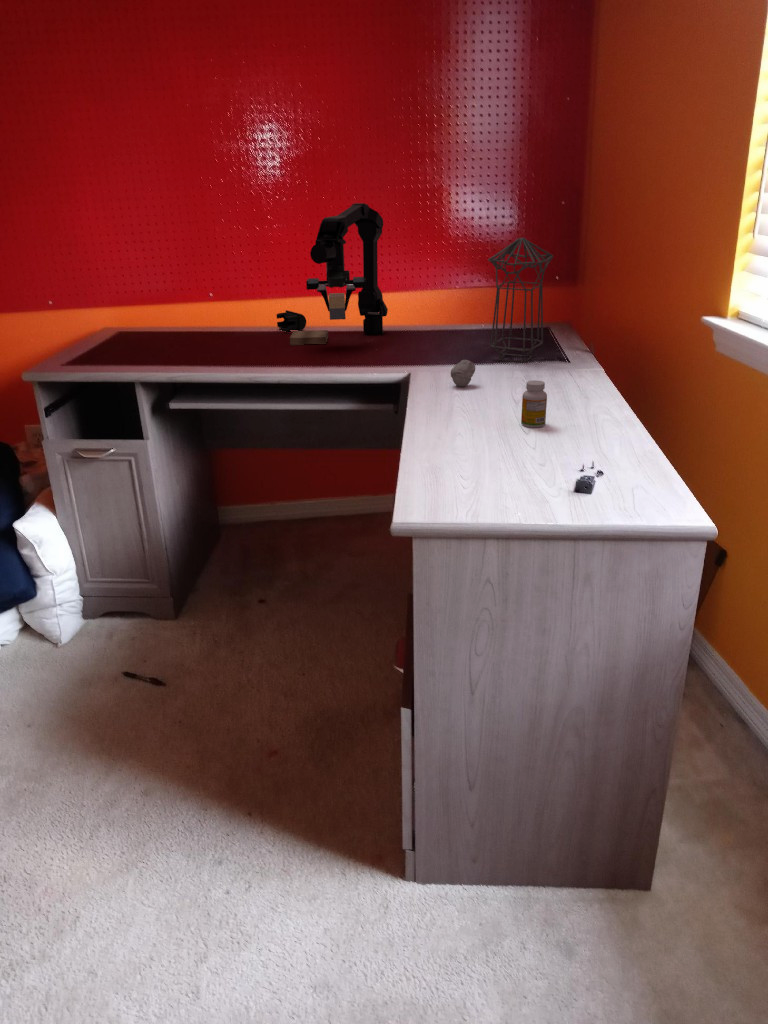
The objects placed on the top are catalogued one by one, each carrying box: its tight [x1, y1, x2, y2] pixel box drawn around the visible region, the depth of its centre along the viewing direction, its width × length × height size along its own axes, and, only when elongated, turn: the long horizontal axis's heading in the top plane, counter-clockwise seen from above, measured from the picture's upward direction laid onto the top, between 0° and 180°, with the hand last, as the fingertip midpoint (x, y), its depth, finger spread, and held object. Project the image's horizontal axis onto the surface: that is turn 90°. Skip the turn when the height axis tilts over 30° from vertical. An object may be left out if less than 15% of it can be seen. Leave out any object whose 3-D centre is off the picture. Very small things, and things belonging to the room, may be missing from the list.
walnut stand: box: [289, 329, 329, 346], centre depth 268 cm, size 12×12×2 cm
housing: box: [328, 292, 346, 321], centre depth 252 cm, size 5×8×7 cm, turn 3°
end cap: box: [276, 309, 307, 332], centre depth 285 cm, size 10×7×7 cm
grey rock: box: [450, 359, 476, 388], centre depth 208 cm, size 6×7×7 cm
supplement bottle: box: [520, 379, 548, 429], centre depth 175 cm, size 5×5×10 cm
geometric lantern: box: [487, 237, 554, 363], centre depth 230 cm, size 16×16×35 cm
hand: (337, 310), depth 253 cm, fingers closed on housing, 5 cm apart
